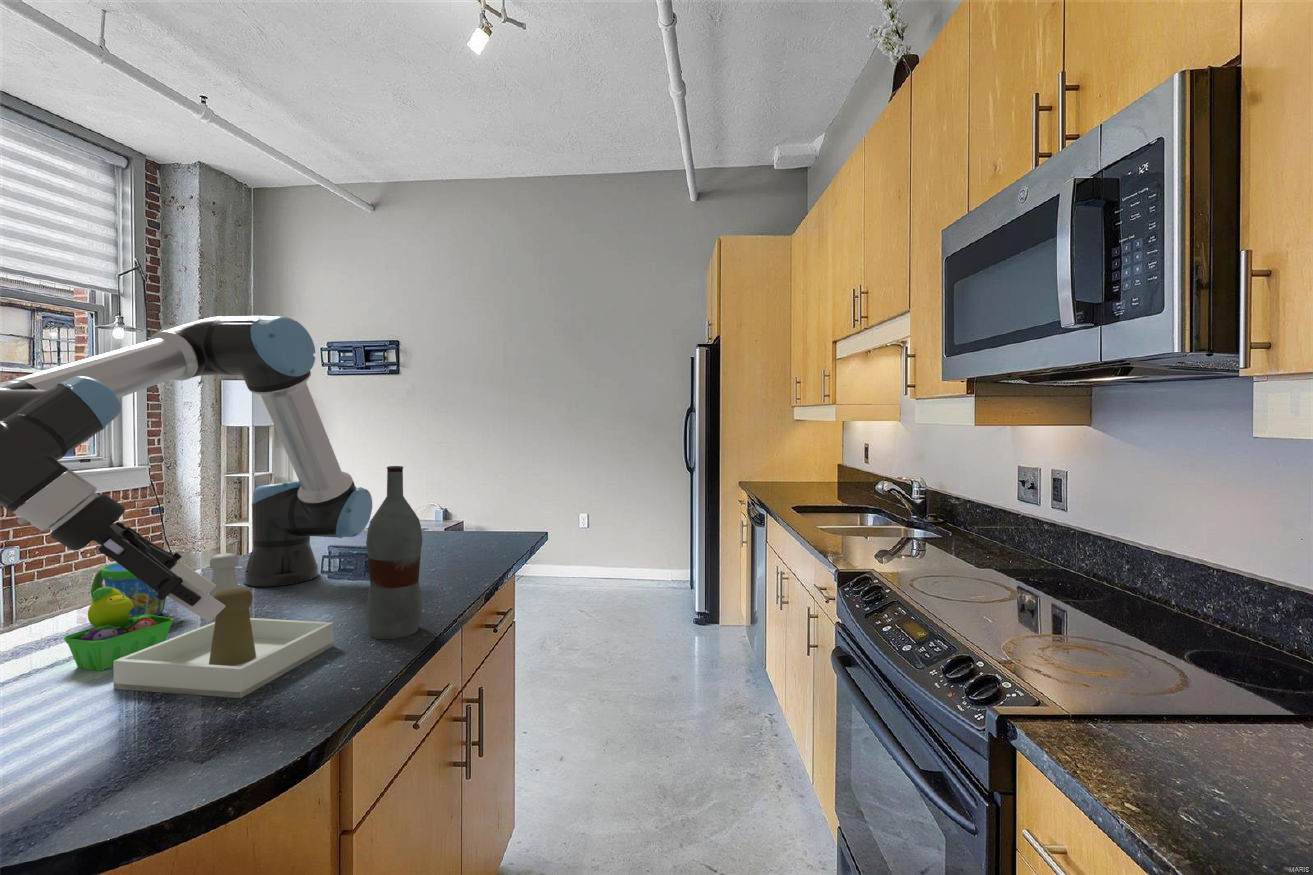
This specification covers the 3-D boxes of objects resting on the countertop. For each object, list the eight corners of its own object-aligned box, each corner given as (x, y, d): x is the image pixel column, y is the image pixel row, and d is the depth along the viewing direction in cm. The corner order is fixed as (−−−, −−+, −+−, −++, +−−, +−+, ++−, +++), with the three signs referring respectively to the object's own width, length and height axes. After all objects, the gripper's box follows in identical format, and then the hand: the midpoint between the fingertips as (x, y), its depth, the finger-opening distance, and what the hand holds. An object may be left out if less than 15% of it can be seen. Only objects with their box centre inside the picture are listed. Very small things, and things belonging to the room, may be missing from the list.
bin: (227, 639, 105) (227, 616, 104) (333, 646, 102) (333, 622, 102) (113, 688, 85) (113, 660, 85) (240, 698, 83) (240, 669, 83)
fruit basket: (95, 676, 89) (94, 600, 89) (55, 668, 92) (54, 594, 92) (176, 649, 100) (176, 581, 100) (138, 642, 103) (138, 576, 102)
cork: (219, 670, 90) (219, 596, 90) (201, 661, 93) (200, 590, 93) (263, 657, 95) (263, 587, 95) (244, 649, 98) (244, 582, 98)
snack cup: (199, 610, 121) (199, 559, 120) (152, 627, 110) (152, 572, 110) (126, 607, 122) (125, 557, 121) (72, 624, 111) (71, 569, 111)
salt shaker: (250, 619, 115) (250, 551, 115) (226, 629, 109) (226, 558, 109) (222, 618, 116) (222, 550, 115) (196, 628, 110) (196, 557, 110)
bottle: (365, 643, 104) (366, 468, 103) (366, 627, 112) (366, 465, 111) (424, 636, 108) (424, 467, 107) (420, 620, 116) (421, 464, 115)
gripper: (55, 521, 89) (185, 603, 99) (33, 550, 70) (196, 648, 80) (104, 483, 92) (225, 566, 102) (95, 500, 73) (245, 601, 84)
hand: (213, 602), depth 91 cm, fingers open, 13 cm apart
